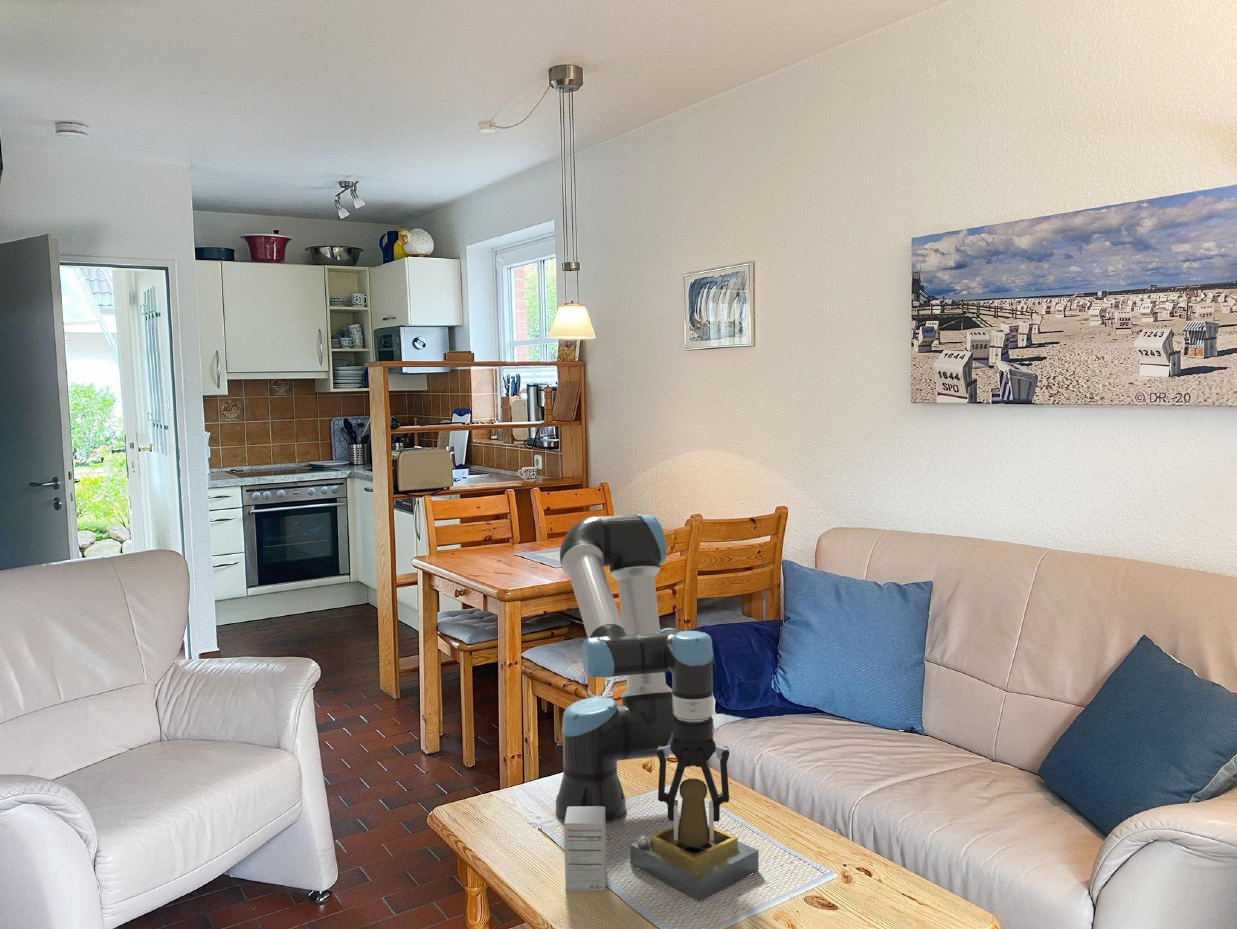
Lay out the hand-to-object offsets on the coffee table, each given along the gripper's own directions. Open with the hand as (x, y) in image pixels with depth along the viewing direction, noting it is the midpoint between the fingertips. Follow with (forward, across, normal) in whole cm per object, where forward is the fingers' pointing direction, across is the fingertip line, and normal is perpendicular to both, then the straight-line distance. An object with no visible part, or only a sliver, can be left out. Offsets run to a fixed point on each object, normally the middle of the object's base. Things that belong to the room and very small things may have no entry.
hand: (693, 836), depth 173 cm
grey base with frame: (+6, 0, 0) cm, 6 cm away
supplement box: (+6, -20, -6) cm, 22 cm away
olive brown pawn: (0, 0, 0) cm, 0 cm away
